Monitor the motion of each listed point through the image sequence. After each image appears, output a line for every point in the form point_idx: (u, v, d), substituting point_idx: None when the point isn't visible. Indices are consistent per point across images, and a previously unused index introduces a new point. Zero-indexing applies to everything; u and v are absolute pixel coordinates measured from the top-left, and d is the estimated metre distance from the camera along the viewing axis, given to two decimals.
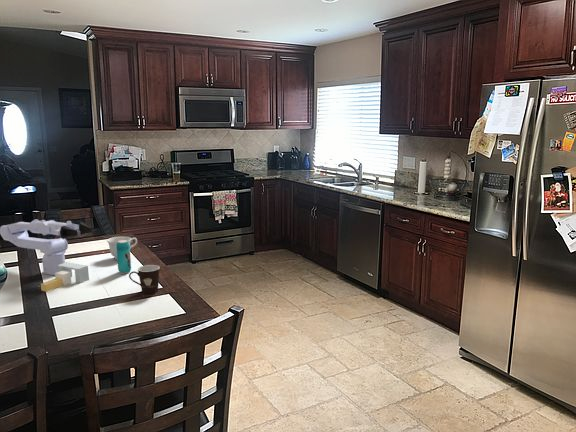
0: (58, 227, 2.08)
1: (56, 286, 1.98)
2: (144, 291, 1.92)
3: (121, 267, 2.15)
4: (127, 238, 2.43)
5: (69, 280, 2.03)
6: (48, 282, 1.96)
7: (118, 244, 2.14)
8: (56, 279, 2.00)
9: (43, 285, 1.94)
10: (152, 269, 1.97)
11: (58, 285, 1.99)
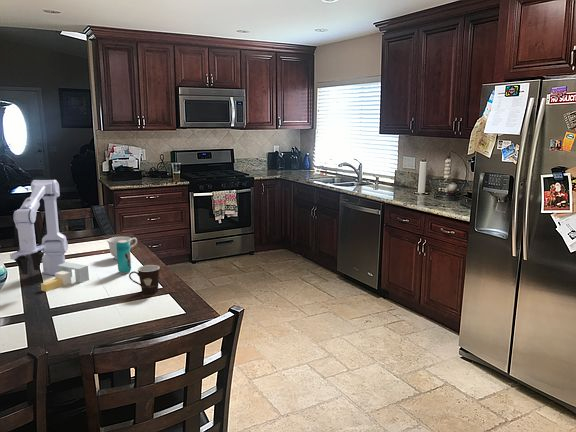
0: (23, 243, 1.83)
1: (56, 286, 1.98)
2: (144, 291, 1.92)
3: (121, 267, 2.15)
4: (127, 238, 2.43)
5: (69, 280, 2.03)
6: (48, 282, 1.96)
7: (118, 244, 2.14)
8: (56, 279, 2.00)
9: (43, 285, 1.94)
10: (152, 269, 1.97)
11: (58, 285, 1.99)
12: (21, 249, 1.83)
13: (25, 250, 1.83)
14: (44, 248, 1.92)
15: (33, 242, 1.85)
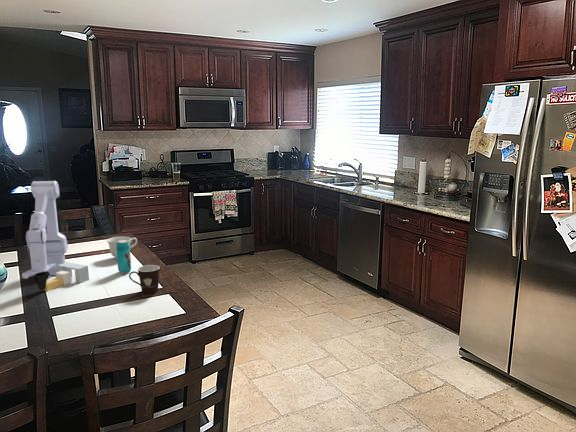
0: (35, 262, 1.88)
1: (57, 286, 1.98)
2: (144, 291, 1.92)
3: (121, 267, 2.15)
4: (127, 238, 2.43)
5: (69, 279, 2.04)
6: (49, 282, 1.96)
7: (118, 244, 2.14)
8: (56, 279, 2.00)
9: None
10: (152, 269, 1.97)
11: (59, 285, 1.99)
12: (33, 268, 1.89)
13: (37, 269, 1.89)
14: (55, 266, 1.97)
15: (44, 261, 1.90)
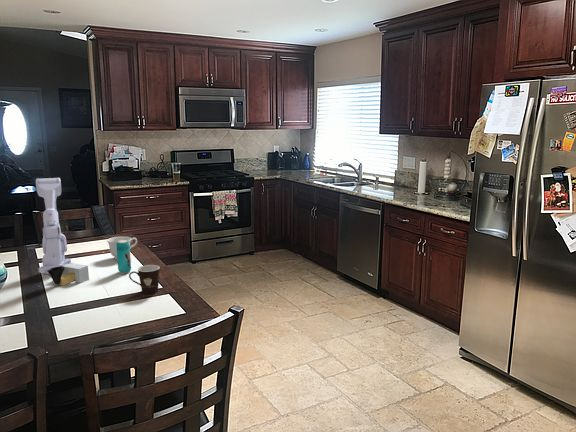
0: (51, 257, 1.95)
1: (71, 280, 2.06)
2: (144, 291, 1.92)
3: (121, 267, 2.15)
4: (127, 238, 2.43)
5: None
6: (63, 276, 2.03)
7: (118, 244, 2.14)
8: (70, 273, 2.07)
9: None
10: (152, 269, 1.97)
11: (73, 279, 2.06)
12: (48, 263, 1.96)
13: (52, 264, 1.96)
14: (69, 261, 2.04)
15: (59, 256, 1.97)
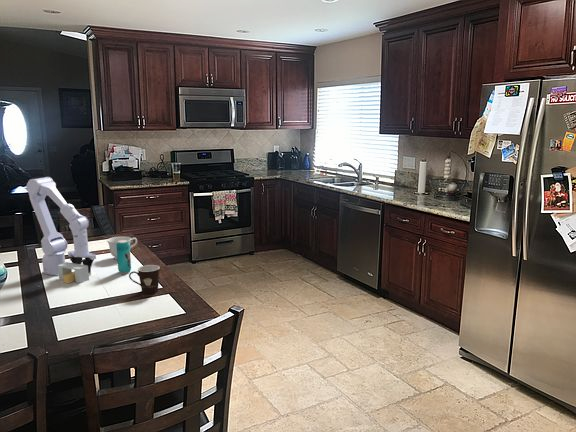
0: None
1: None
2: (144, 291, 1.92)
3: (121, 267, 2.15)
4: (127, 238, 2.43)
5: None
6: (70, 274, 2.06)
7: (118, 244, 2.14)
8: None
9: (65, 277, 2.04)
10: (152, 269, 1.97)
11: None
12: None
13: None
14: (91, 257, 2.08)
15: (76, 248, 2.08)
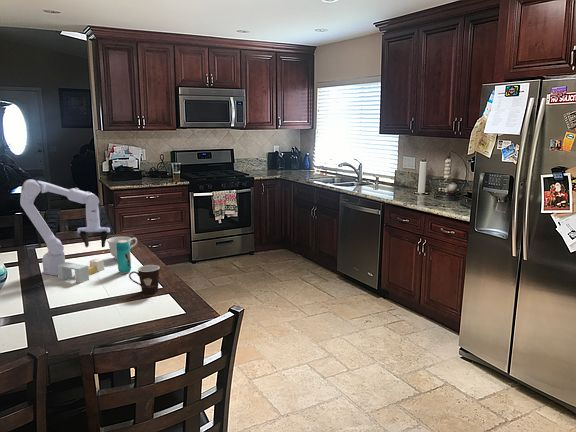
0: None
1: (92, 272, 2.16)
2: (144, 291, 1.92)
3: (121, 267, 2.15)
4: (127, 238, 2.43)
5: (102, 267, 2.21)
6: None
7: (118, 244, 2.14)
8: (91, 266, 2.17)
9: None
10: (152, 269, 1.97)
11: (93, 272, 2.17)
12: None
13: (87, 227, 2.21)
14: (107, 230, 2.22)
15: (91, 222, 2.19)
